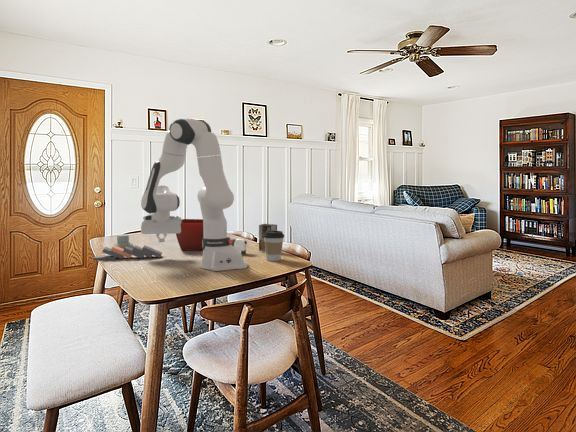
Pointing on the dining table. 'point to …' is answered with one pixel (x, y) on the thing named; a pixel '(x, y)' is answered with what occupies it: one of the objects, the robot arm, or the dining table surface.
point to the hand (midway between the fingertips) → (161, 242)
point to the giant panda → (239, 245)
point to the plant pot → (191, 234)
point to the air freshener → (123, 241)
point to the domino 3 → (120, 251)
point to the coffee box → (262, 231)
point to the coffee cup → (273, 244)
